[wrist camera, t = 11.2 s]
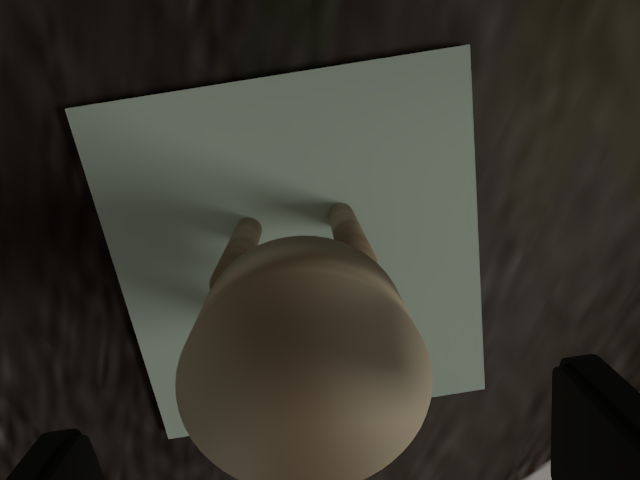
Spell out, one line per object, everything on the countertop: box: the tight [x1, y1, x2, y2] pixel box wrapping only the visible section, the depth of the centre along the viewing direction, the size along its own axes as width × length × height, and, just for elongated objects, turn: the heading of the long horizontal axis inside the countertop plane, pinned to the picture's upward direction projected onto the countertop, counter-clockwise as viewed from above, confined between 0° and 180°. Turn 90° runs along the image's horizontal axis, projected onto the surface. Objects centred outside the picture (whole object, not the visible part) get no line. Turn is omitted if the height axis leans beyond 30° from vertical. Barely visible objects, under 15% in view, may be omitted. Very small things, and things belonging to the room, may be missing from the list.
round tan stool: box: [175, 203, 432, 480], centre depth 15 cm, size 6×6×9 cm
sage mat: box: [65, 44, 485, 439], centre depth 20 cm, size 16×16×1 cm
